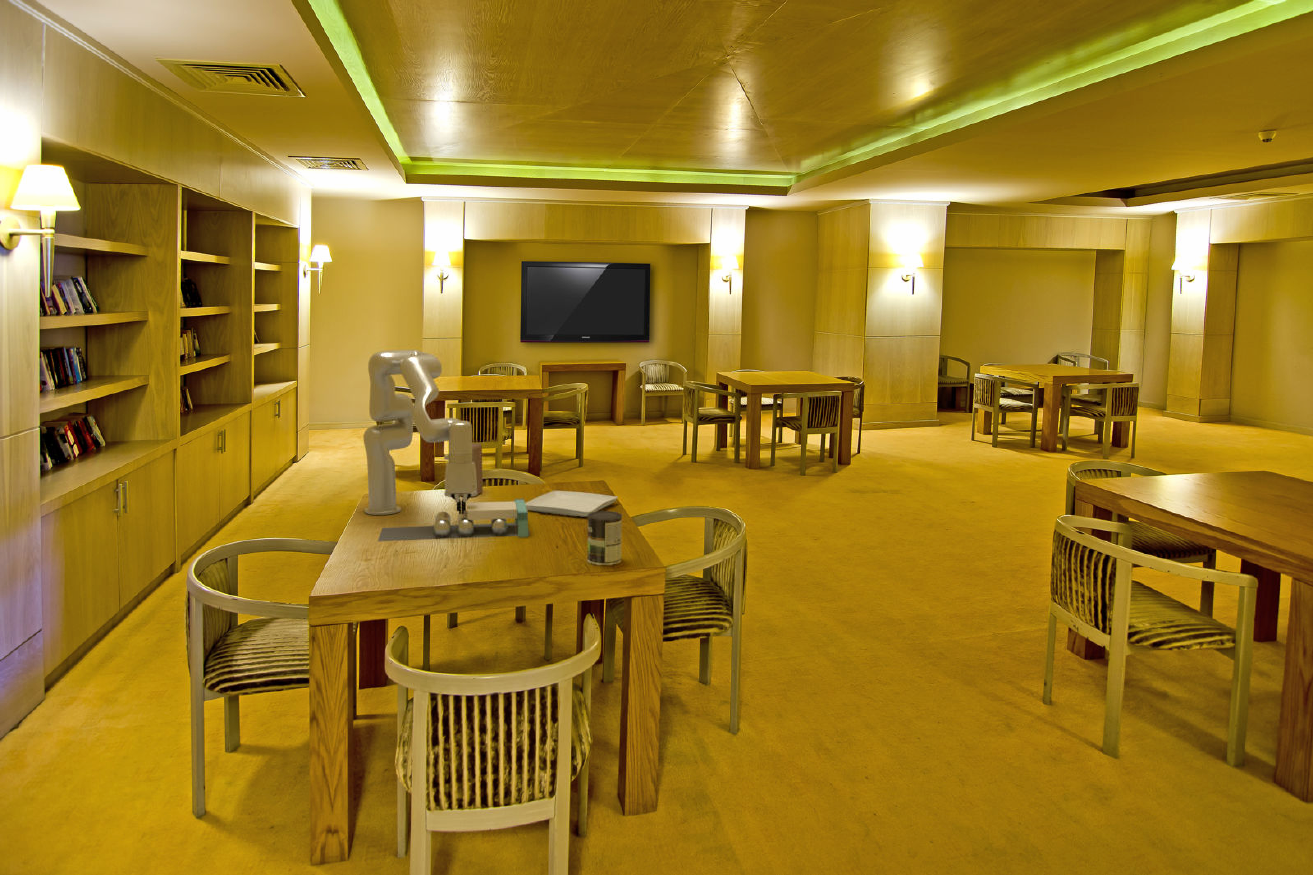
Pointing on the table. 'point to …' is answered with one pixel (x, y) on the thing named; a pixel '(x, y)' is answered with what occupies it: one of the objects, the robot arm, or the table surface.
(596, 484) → the table surface
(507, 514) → the slab
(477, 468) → the wooden block
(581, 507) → the square plate
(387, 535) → the runway
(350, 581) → the table surface
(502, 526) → the loose roller
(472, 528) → the roller
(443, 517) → the roller
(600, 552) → the coffee can
